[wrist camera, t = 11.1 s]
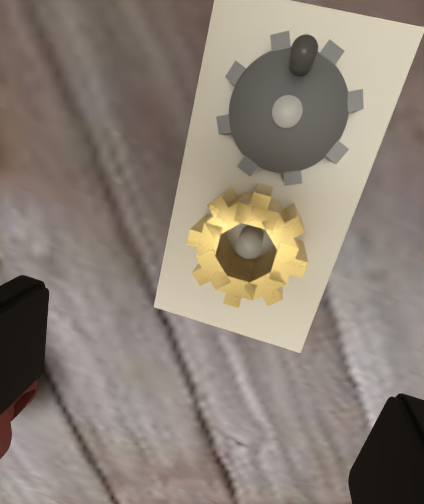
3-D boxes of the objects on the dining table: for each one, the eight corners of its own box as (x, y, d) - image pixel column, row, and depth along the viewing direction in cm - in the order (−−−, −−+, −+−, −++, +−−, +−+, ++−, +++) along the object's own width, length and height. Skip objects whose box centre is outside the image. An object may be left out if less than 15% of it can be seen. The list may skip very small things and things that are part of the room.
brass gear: (215, 172, 23) (200, 178, 19) (317, 198, 23) (326, 211, 18) (193, 265, 26) (176, 289, 22) (286, 292, 25) (287, 322, 21)
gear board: (221, -5, 22) (195, -69, 15) (415, 35, 20) (479, -16, 14) (159, 299, 29) (124, 344, 22) (299, 342, 28) (304, 404, 21)
